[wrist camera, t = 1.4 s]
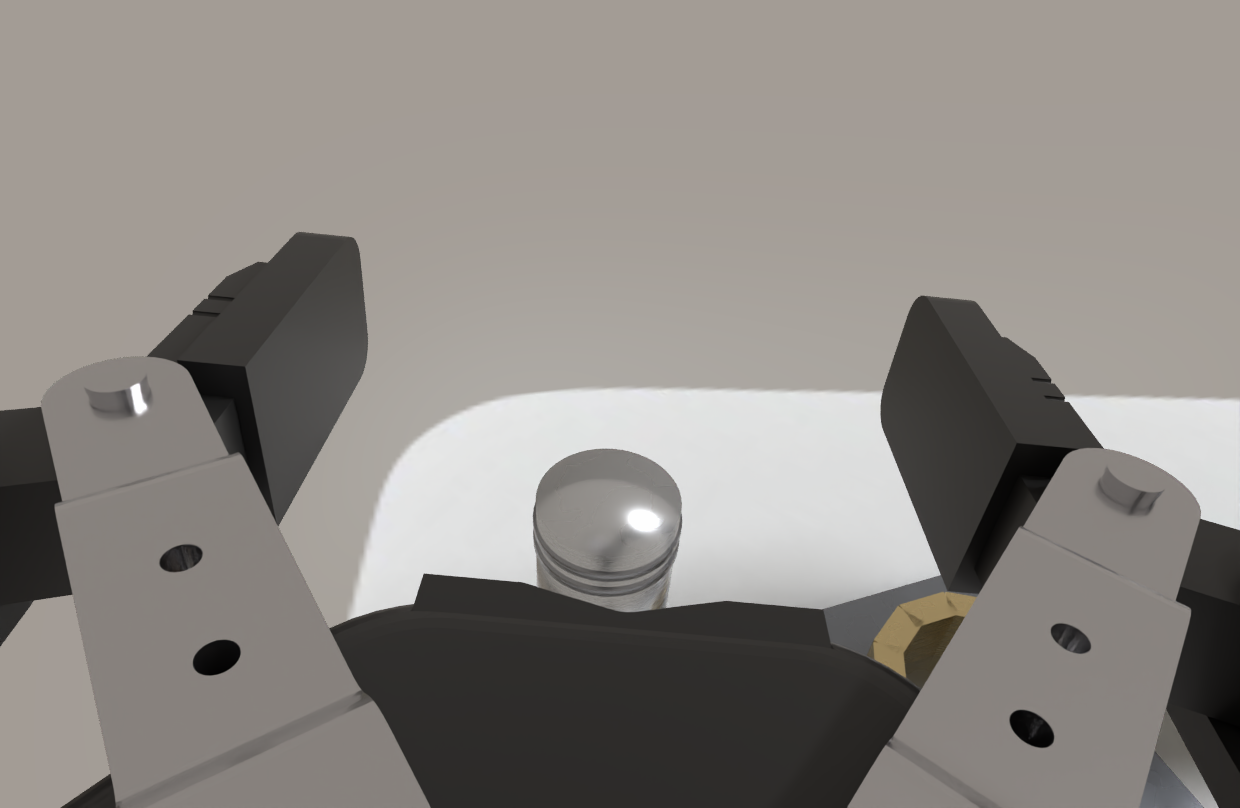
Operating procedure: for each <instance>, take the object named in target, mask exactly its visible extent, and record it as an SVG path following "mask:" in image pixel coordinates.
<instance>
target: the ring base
mask: <svg viewBox="0 0 1240 808" xmlns="http://www.w3.org/2000/svg"><path fill="white" fill-rule="evenodd" d="M978 595H979V594H972V593H961V592H951V591H947V589H946V586H945V584H944V581H943V579H942V576H941V575H940V576H937V577H933V578H930V579H926V580H923V581H919V582H916V583H912V584H909V585H905V586H902V587H899V588H895V589H892V590H888V591H885V592H881V593H878V594H874V595H871V596H867V597H864V598H860V599H857V600H854V601H850V602H847V603H843V604H840V605H836V606H833V607H829V608H826V609H822V610H823V611H824V615H825V619H826V624H827V628H828V633H829V637H830V642H833V643H836V644H839V645H842V646H845V647H847V648H850V649H852V650H855V651H857V652H859V653H862V654H864V655H866V656H868V657H870V658H872V659H874V660H876V661H878V662H880V663H882V664H884V665H886V666H888V667H889V668H891V669H892V670H894V671H896V672H897V673H899V674H900V675H902V676H904V677H905V678H907V679H908V680H910V681H911V682H912V683H914V684H915V685H916V686H918V687H919V688H920V689H922V688H923V686H924V684H925V683H926V681H927V679H928V678H929V676H930V674H931V673H932V671H933V669H934V668H935V666H936V664H937V663H938V661H939V659H940V658H941V656H942V655H943V653H944V651H945V650H946V648H947V646H948V645H949V643H950V641H951V640H952V638H953V636H954V635H955V633H956V631H957V630H958V628H959V626H960V625H961V623H962V621H963V620H964V618H965V616H966V615H967V613H968V611H969V610H970V608H971V606H972V605H973V603H974V601H975V600H976V598H977V596H978ZM1139 808H1204V807H1203V806H1202V805H1201V804H1200V803H1199V802H1198V800H1197V799H1196V798H1195V797H1194V796H1193V795H1192V794H1191V792H1190V791H1189V790H1188V789H1187V788H1186V787H1185V786H1184V784H1183V783H1182V782H1181V781H1180V780H1179V779H1178V778H1177V776H1176V775H1175V774H1174V773H1173V772H1172V771H1171V770H1170V768H1169V767H1168V766H1167V765H1166V764H1165V763H1164V762H1163V760H1162V759H1161V758H1160V757H1159V756H1158V755H1157V753H1156V752H1155V751H1154V755H1153V758H1152V762H1151V766H1150V769H1149V773H1148V777H1147V781H1146V784H1145V788H1144V792H1143V795H1142V799H1141V803H1140V806H1139Z"/></svg>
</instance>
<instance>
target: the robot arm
mask: <svg viewBox="0 0 1240 808" xmlns="http://www.w3.org/2000/svg"><path fill="white" fill-rule="evenodd" d="M365 313H366V312H365V302H364V292H363V281H362V271H361V261H360V253H359V248H358V245H357V243H356V241H355V239H354V238H352V237H345V236H334V235H324V234H314V233H305V232H298V233H296V234H295V235H294V236H293V237H292V238H291V239H290V240H289V241H288V242H287V243H286V244H285V245H284V246H283V247H282V249H280V251H279V252H278V253H277V254H276V255H275V256H274V257H273V258H272V259H271V260H270V261H269V262H268V263H264V262H257V263H255V264H253V265H251V266H248V267H246V268H245V269H242V270H240V271H238V272H236V273H233V274H231V275H229V276H227V277H226V278H225V279H224V280H223V281H222V282H221V283H220V284H219V285H218V286H217V287H216V288H215V289H214V290H213V291H212V292H211V293H210V294H209V295H208V299H204V300H203V301H202V302H201V303H200V304H199V305H198V306H197V307H196V308H195V309H194V310H193V315H188V316H187V317H186V318H185V319H184V320H183V321H182V322H181V323H180V324H179V325H178V326H177V327H176V328H175V329H174V330H173V331H172V332H171V333H170V334H169V335H168V336H167V337H166V338H165V339H164V340H163V341H162V342H161V343H160V344H159V345H158V346H157V347H156V348H155V349H154V350H153V351H152V352H151V353H150V354H149V355H148V356H147V357H124V358H117V359H110V360H106V361H102V362H98V363H94V364H91V365H88V366H85V367H83V368H80V369H78V370H75V371H73V372H71V373H69V374H67V375H66V376H64V377H62V378H61V379H60V380H58V381H57V382H56V383H54V384H53V385H52V386H51V387H50V388H49V389H48V390H47V391H46V393H45V394H44V396H43V399H42V401H41V407H37V408H27V409H17V410H4V411H0V646H1V645H2V643H3V642H4V641H5V639H6V638H7V637H8V635H9V634H10V632H11V631H12V630H13V629H14V627H15V626H16V625H17V623H18V622H19V620H20V619H21V618H22V616H23V615H24V614H25V612H26V611H27V610H28V608H29V607H30V606H31V604H32V602H33V601H34V600H40V599H46V598H53V597H60V596H66V595H73V599H74V603H75V608H76V613H77V617H78V622H79V627H80V632H81V636H82V641H83V646H84V650H85V655H86V660H87V664H88V669H89V674H90V679H91V684H92V688H93V693H94V698H95V703H96V707H97V712H98V717H99V721H100V726H101V730H102V735H103V740H104V745H105V750H106V754H107V759H108V764H109V768H110V773H111V774H109V775H108V776H106V777H105V778H103V779H102V780H101V781H99V782H98V783H96V784H95V785H93V786H92V787H90V788H89V789H87V790H86V791H84V792H83V793H81V794H80V795H79V796H77V797H76V798H74V799H73V800H71V801H70V802H68V803H67V804H65V805H64V806H62V807H61V808H1139V806H1140V803H1141V799H1142V795H1143V792H1144V788H1145V784H1146V781H1147V777H1148V773H1149V769H1150V766H1151V762H1152V758H1153V755H1154V751H1155V747H1156V744H1157V740H1158V736H1159V732H1160V729H1161V725H1162V721H1163V718H1164V714H1165V710H1166V709H1167V711H1168V713H1169V715H1170V717H1171V719H1172V721H1173V722H1174V724H1175V726H1176V728H1177V730H1178V732H1179V734H1180V736H1181V737H1182V739H1183V741H1184V743H1185V745H1186V747H1187V749H1188V751H1189V752H1190V754H1191V756H1192V758H1193V760H1194V762H1195V764H1196V765H1197V767H1198V769H1199V771H1200V773H1201V775H1202V777H1203V779H1204V780H1205V782H1206V784H1207V786H1208V788H1209V790H1210V792H1211V794H1212V795H1213V797H1214V799H1215V801H1216V803H1217V805H1218V807H1219V808H1240V530H1237V529H1233V528H1230V527H1226V526H1223V525H1219V524H1216V523H1212V522H1209V521H1206V520H1202V519H1200V516H1201V510H1200V506H1199V504H1198V502H1197V500H1196V498H1195V497H1194V496H1193V494H1192V493H1191V492H1190V491H1189V490H1188V489H1187V488H1186V487H1185V486H1184V485H1183V484H1182V483H1181V482H1180V481H1178V480H1177V479H1176V478H1175V477H1173V476H1172V475H1170V474H1169V473H1167V472H1166V471H1164V470H1162V469H1160V468H1159V467H1157V466H1155V465H1153V464H1151V463H1149V462H1147V461H1145V460H1142V459H1140V458H1137V457H1134V456H1132V455H1129V454H1125V453H1122V452H1118V451H1114V450H1109V449H1104V448H1103V447H1102V446H1101V444H1100V443H1099V442H1098V440H1097V439H1096V438H1095V436H1094V435H1093V434H1092V432H1091V431H1090V430H1089V428H1088V427H1087V426H1086V425H1085V423H1084V422H1083V421H1082V419H1081V418H1080V417H1079V415H1078V414H1077V413H1076V411H1075V410H1074V409H1073V407H1072V406H1071V405H1070V403H1069V402H1064V399H1065V397H1064V395H1063V394H1062V393H1061V392H1060V390H1059V389H1058V387H1057V386H1056V385H1055V384H1051V378H1050V377H1049V376H1048V374H1047V373H1046V372H1045V370H1044V369H1043V368H1042V366H1041V365H1040V364H1039V362H1038V361H1037V360H1036V358H1035V357H1033V356H1032V355H1030V354H1029V353H1027V352H1026V351H1025V350H1023V349H1022V348H1020V347H1019V346H1017V345H1016V344H1015V343H1013V342H1012V341H1010V340H1009V339H1008V338H1005V337H1001V336H1000V334H999V333H998V331H997V330H996V329H995V327H994V326H993V325H992V323H991V322H990V320H989V319H988V318H987V316H986V315H985V313H984V312H983V311H982V309H981V308H980V306H979V305H978V304H977V303H976V302H975V301H969V300H960V299H949V298H939V297H930V296H920V297H918V298H917V299H916V300H915V302H914V303H913V305H912V307H911V309H910V311H909V314H908V316H907V320H906V322H905V325H904V328H903V331H902V334H901V337H900V341H899V343H898V347H897V349H896V352H895V355H894V359H893V362H892V364H891V368H890V370H889V373H888V376H887V379H886V382H885V385H884V389H883V393H882V399H881V423H882V428H883V431H884V433H885V436H886V438H887V441H888V443H889V446H890V448H891V451H892V453H893V456H894V458H895V461H896V463H897V466H898V468H899V471H900V473H901V476H902V478H903V481H904V483H905V486H906V488H907V491H908V493H909V496H910V498H911V501H912V503H913V506H914V508H915V511H916V513H917V516H918V518H919V521H920V523H921V526H922V528H923V531H924V533H925V536H926V538H927V541H928V543H929V546H930V549H931V551H932V554H933V556H934V559H935V561H936V564H937V566H938V569H939V571H940V574H941V576H942V579H943V581H944V584H945V586H946V589H947V591H951V592H961V593H972V594H979V595H978V596H977V598H976V600H975V601H974V603H973V605H972V606H971V608H970V610H969V611H968V613H967V615H966V616H965V618H964V620H963V621H962V623H961V625H960V626H959V628H958V630H957V631H956V633H955V635H954V636H953V638H952V640H951V641H950V643H949V645H948V646H947V648H946V650H945V651H944V653H943V655H942V656H941V658H940V659H939V661H938V663H937V664H936V666H935V668H934V669H933V671H932V673H931V674H930V676H929V678H928V679H927V681H926V683H925V684H924V686H923V688H922V689H920V688H919V687H918V686H916V685H915V684H914V683H912V682H911V681H910V680H908V679H907V678H905V677H904V676H902V675H900V674H899V673H897V672H896V671H894V670H892V669H891V668H889V667H888V666H886V665H884V664H882V663H880V662H878V661H876V660H874V659H872V658H870V657H868V656H866V655H864V654H862V653H859V652H857V651H855V650H852V649H850V648H847V647H845V646H842V645H839V644H836V643H833V642H830V637H829V633H828V628H827V624H826V619H825V615H824V611H823V610H820V609H809V608H798V607H787V606H776V605H765V604H754V603H743V602H732V601H722V602H714V603H705V604H697V605H688V606H680V607H671V608H663V609H655V610H646V611H638V612H620V611H616V610H612V609H609V608H605V607H602V606H599V605H595V604H592V603H589V602H585V601H582V600H579V599H576V598H572V597H569V596H566V595H562V594H559V593H556V592H552V591H549V590H546V589H542V588H539V587H536V586H532V585H529V584H526V583H522V582H511V581H500V580H488V579H477V578H466V577H455V576H444V575H433V574H424V575H423V578H422V581H421V584H420V587H419V590H418V594H417V597H416V600H415V603H414V604H412V605H404V606H398V607H393V608H388V609H384V610H379V611H375V612H372V613H369V614H366V615H362V616H359V617H356V618H353V619H350V620H348V621H346V622H343V623H341V624H339V625H336V626H334V627H332V628H329V627H328V625H327V623H326V621H325V619H324V618H323V615H322V613H321V611H320V609H319V607H318V606H317V603H316V601H315V599H314V598H313V595H312V593H311V591H310V589H309V587H308V585H307V584H306V581H305V579H304V577H303V575H302V573H301V571H300V569H299V567H298V566H297V564H296V561H295V559H294V557H293V556H292V553H291V552H290V550H289V547H288V545H287V543H286V542H285V540H284V538H283V535H282V534H281V532H280V530H279V528H278V526H279V524H280V522H281V520H282V519H283V517H284V515H285V513H286V512H287V510H288V508H289V506H290V504H291V503H292V501H293V498H294V497H295V495H296V494H297V492H298V490H299V488H300V486H301V485H302V483H303V481H304V479H305V477H306V476H307V474H308V472H309V470H310V468H311V466H312V465H313V463H314V461H315V459H316V458H317V456H318V454H319V452H320V450H321V449H322V447H323V445H324V443H325V441H326V440H327V438H328V436H329V434H330V432H331V431H332V429H333V427H334V425H335V423H336V422H337V420H338V418H339V416H340V414H341V413H342V411H343V409H344V407H345V405H346V404H347V402H348V400H349V398H350V396H351V395H352V393H353V391H354V389H355V387H356V386H357V384H358V382H359V380H360V379H361V376H362V374H363V371H364V368H365V364H366V358H367V350H368V333H367V323H366V314H365Z"/></svg>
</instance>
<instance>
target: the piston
mask: <svg viewBox="0 0 1240 808" xmlns="http://www.w3.org/2000/svg"><path fill="white" fill-rule="evenodd" d="M681 507H682V502H681V496H680V492H679V489H678V487H677V485H676V483H675V482H674V480H673V479H672V477H671V476H670V475H669V474H668V473H667V472H666V471H665V470H664V469H663V468H662V467H661V466H659V465H658V464H656V463H655V462H653V461H652V460H650V459H648V458H646V457H643V456H641V455H639V454H635V453H632V452H628V451H624V450H617V449H594V450H587V451H583V452H579V453H576V454H573V455H571V456H568V457H566V458H564V459H562V460H561V461H559V462H558V463H556V464H555V465H554V466H553V467H551V468H550V469H549V470H548V472H547V473H546V474H545V475H544V477H543V478H542V480H541V482H540V484H539V486H538V489H537V493H536V502H535V506H534V512H533V527H534V530H533V539H534V548H535V552H536V556H537V587H539V588H542V589H546V590H549V591H552V592H556V593H559V594H562V595H566V596H569V597H572V598H576V599H579V600H582V601H585V602H589V603H592V604H595V605H599V606H602V607H605V608H609V609H612V610H616V611H620V612H638V611H646V610H655V609H663V608H666V604H667V598H668V591H669V585H670V579H671V572H672V566H673V563H674V561H675V558H676V556H677V552H678V546H679V538H680V534H681V528H682V514H681Z"/></svg>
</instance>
